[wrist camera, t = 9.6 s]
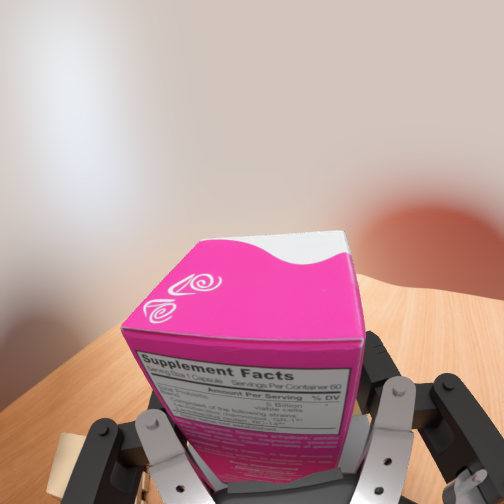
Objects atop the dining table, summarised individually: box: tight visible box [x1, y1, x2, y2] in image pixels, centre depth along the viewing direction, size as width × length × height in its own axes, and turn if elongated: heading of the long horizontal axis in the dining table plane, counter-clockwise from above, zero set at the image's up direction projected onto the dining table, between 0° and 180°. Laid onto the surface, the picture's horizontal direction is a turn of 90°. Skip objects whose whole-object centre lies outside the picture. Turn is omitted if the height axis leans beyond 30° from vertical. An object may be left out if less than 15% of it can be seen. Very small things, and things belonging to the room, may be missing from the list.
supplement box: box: [120, 230, 366, 484], centre depth 10 cm, size 6×6×12 cm
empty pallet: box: [46, 432, 150, 504], centre depth 15 cm, size 10×8×2 cm
